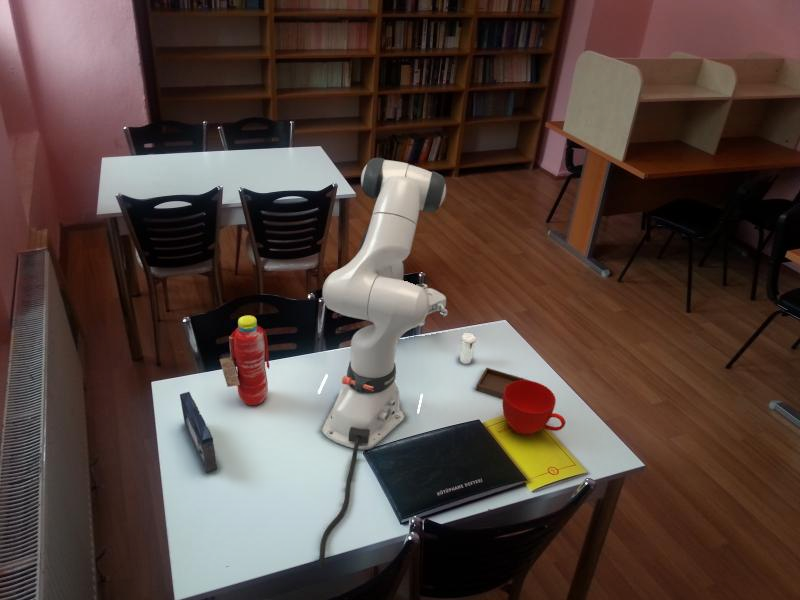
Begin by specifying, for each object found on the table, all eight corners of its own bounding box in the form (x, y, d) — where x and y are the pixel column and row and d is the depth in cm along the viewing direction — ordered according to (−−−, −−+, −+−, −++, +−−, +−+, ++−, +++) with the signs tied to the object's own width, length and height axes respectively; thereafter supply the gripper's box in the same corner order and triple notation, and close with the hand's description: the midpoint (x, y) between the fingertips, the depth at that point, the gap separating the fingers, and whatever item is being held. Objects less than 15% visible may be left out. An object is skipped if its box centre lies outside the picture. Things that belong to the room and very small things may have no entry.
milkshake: (452, 359, 182) (456, 331, 177) (467, 354, 185) (471, 327, 180) (461, 367, 179) (465, 339, 174) (476, 362, 181) (480, 335, 176)
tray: (529, 406, 165) (530, 401, 164) (475, 390, 170) (476, 384, 169) (537, 387, 173) (538, 382, 172) (485, 372, 178) (486, 367, 177)
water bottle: (225, 413, 156) (216, 331, 144) (223, 394, 163) (214, 314, 150) (273, 406, 160) (268, 325, 147) (269, 387, 166) (264, 308, 154)
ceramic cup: (545, 459, 148) (553, 428, 143) (488, 425, 158) (493, 395, 153) (571, 434, 157) (579, 403, 152) (516, 403, 166) (521, 373, 161)
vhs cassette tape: (184, 425, 152) (179, 393, 147) (196, 421, 153) (191, 390, 148) (204, 474, 138) (199, 441, 133) (217, 470, 140) (213, 437, 135)
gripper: (378, 300, 184) (409, 320, 175) (428, 281, 196) (459, 299, 187) (377, 318, 187) (407, 338, 178) (426, 299, 199) (457, 317, 190)
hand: (434, 318), depth 183 cm, fingers open, 8 cm apart
